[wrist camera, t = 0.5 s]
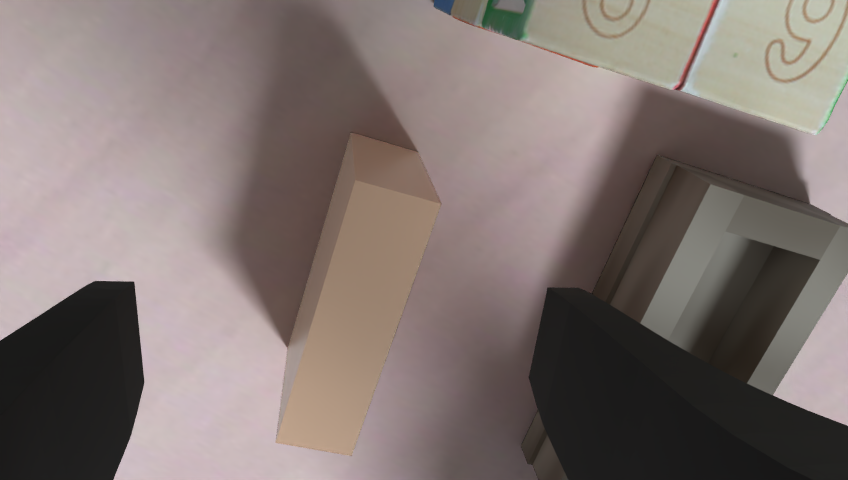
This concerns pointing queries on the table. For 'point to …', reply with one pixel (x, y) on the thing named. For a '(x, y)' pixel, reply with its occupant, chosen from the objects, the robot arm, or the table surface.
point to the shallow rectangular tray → (718, 277)
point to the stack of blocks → (694, 46)
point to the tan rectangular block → (355, 293)
